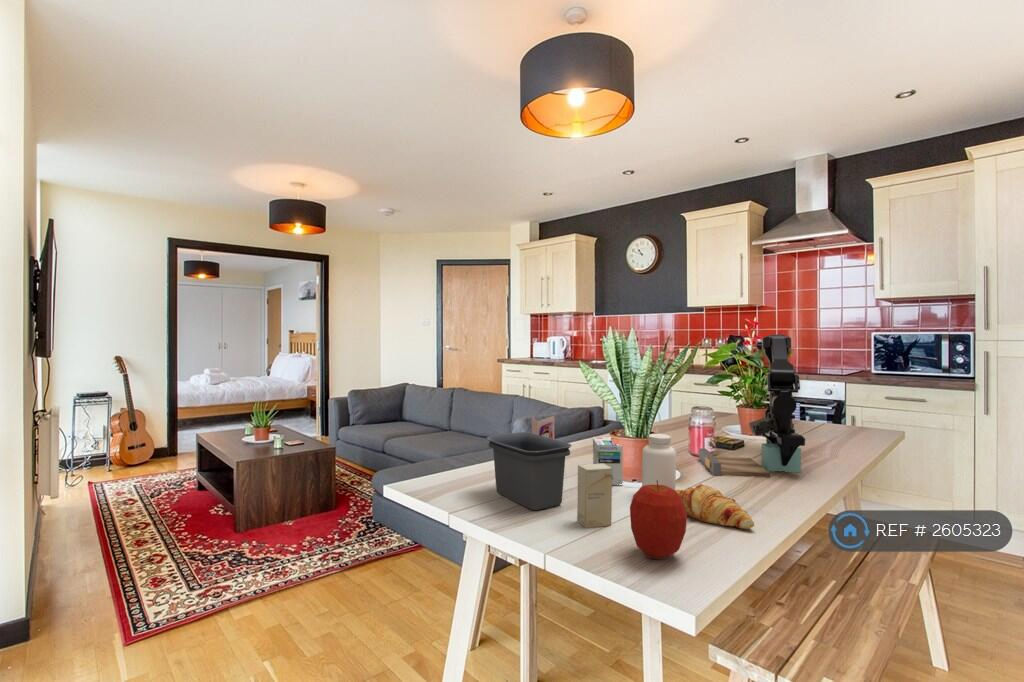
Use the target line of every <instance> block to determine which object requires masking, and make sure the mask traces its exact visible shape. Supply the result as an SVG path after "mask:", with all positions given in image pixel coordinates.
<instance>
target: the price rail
mask: <svg viewBox="0 0 1024 682" xmlns="http://www.w3.org/2000/svg"><path fill="white" fill-rule="evenodd" d="M715 457H716V456H714V455H713V454H712V453H711V452H710V451H709V450H708V449H707V448H703V447H702V448H699V449H698V460H699V461H700V462H701V463H702V464H703V466H704V467H705V468H706V469H707V470H708V471H709V473H711V475H712V474H713V475H718V477H721V476H722V475H721V463H720V462H719V461H718V460H717V459H716V458H715ZM713 475H712V476H713Z"/></svg>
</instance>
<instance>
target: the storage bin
mask: <svg viewBox="0 0 1024 682" xmlns="http://www.w3.org/2000/svg"><path fill="white" fill-rule="evenodd" d="M486 439H487V440H488V441H489V442H488V447H489V448H491V449H492V452H493V463H494V472H495V473H494V475H495V476H494V477H495V488H496V493H497V492H498V494H499V493H500V494H499V495H501V496H503V497H505V498H508V499H509V500H511V501H513V502H515V503H517V504H519V505H522V506H523V507H526V508H527V509H529V510H531V511H532V510H533V511H539V510H543V509H547V508H552V507H556V506H559V505H561V504H562V503H563V492H564V479H565V467H566V466H565V464H566V457H568V456H570V455H571V450H570V448H571V447H572V446H573V444H571V443H569V442H565V441H563V440H559V439H555V438H554V439H552V438H548V437H545V436H541V435H537V434H534V433H532V432H527V431H526V432H525V431H523V432H521V431H520V432H511V433H503V434H494V435H493V434H492V435H489V436H487V438H486Z"/></svg>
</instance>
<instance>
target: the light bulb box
mask: <svg viewBox="0 0 1024 682" xmlns="http://www.w3.org/2000/svg"><path fill="white" fill-rule="evenodd" d="M611 438H612V437H609V436H608V437H603V436H602V437H600V436H592V464H600V463H604V464H606V465H608V466H609V467H611V468H612V486H618V485H617V484H622V483H623V484H624V481H623V478H624V477H623V473H624V472H623V469H624V468H623V464H624V463H623V462H624V461H623V460H624V459H623V456H624V455H623V453H624V452H623V451H624V449H623V447H624V446H622V445H623V444H622V445H619V444H614V443H613V444H612V441H611Z"/></svg>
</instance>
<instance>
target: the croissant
mask: <svg viewBox="0 0 1024 682" xmlns="http://www.w3.org/2000/svg"><path fill="white" fill-rule="evenodd" d="M675 491H676V492H677V493H678V495H679V496H680V497H681V498H682V501H683V504H684V506H685V509H686V512H687V517H690V516H691V517H690V518H694V519H695V518H696V520H698V521H700V520H701V521H700V522H703V521H704V522H703V523H709V524H715V525H720V526H722V527H723V526H724V527H725V526H726V527H727V526H728V527H736V528H738V529H742V530H743V529H745V530H747V529H752V528H754V527H755V521H754V520H753V518H752V517H751V515H750V514H749V512H748V511H746V510H745V509H742V508H741V506H740V505H739V503H738V502H736V500H735V499H734V498H730V497H726V496H724V495H723V493H722V492H721V491H719V490H718V488H714V487H712V486H709V485H704V484H701V483H700V484H698V485H696V486H694V487H687V488H686V489H685V490H684V489H675Z"/></svg>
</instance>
